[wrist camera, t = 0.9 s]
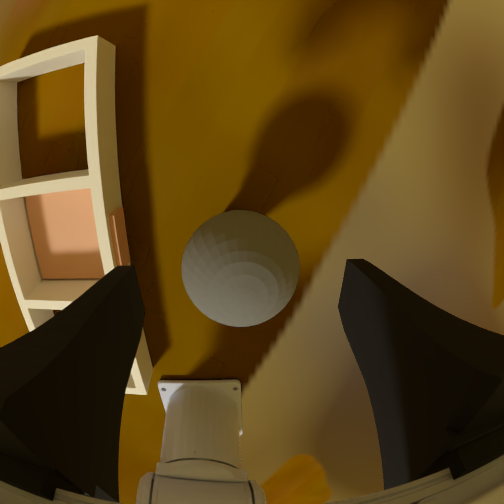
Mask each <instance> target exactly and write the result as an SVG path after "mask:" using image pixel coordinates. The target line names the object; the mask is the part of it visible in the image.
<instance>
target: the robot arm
mask: <svg viewBox="0 0 504 504" xmlns="http://www.w3.org/2000/svg"><path fill="white" fill-rule="evenodd" d="M338 308H339V313H340V316H341V320H342V324H343V328H344V331H345V333H346V336H347V339H348V341H349V343H350V346H351V348H352V350H353V353H354V356H355V358H356V360H357V363H358V365H359V368H360V370H361V372H362V375H363V378H364V380H365V383H366V386H367V389H368V393H369V397H370V401H371V405H372V408H373V413H374V418H375V423H376V428H377V432H378V438H379V445H380V452H381V458H382V467H383V479H384V490H383V491H379V492H375V493H372V494H368V495H364V496H359V497H355V498H351V499H346V500H341V501H336V502H331V503H325V504H504V335H501V334H498V333H495V332H492V331H488V330H486V329H483V328H481V327H478V326H476V325H474V324H471V323H469V322H467V321H464V320H462V319H460V318H458V317H455V316H454V315H452V314H450V313H448V312H446V311H444V310H442V309H440V308H438V307H437V306H435V305H433V304H432V303H430V302H428V301H427V300H425V299H423V298H422V297H420V296H419V295H417V294H415V293H414V292H412V291H411V290H409V289H408V288H406V287H405V286H403V285H402V284H400V283H399V282H398V281H396V280H395V279H393V278H392V277H390V276H389V275H387V274H386V273H385V272H383V271H382V270H380V269H379V268H377V267H376V266H374V265H373V264H371V263H370V262H368V261H366V260H364V259H347V261H346V267H345V272H344V278H343V283H342V289H341V294H340V299H339V304H338ZM144 316H145V311H144V307H143V302H142V298H141V294H140V290H139V285H138V281H137V276H136V272H135V267H134V265H127V266H117V267H115V268H114V269H112V270H111V271H110V272H108V273H107V274H106V275H105V276H103V277H102V278H101V279H100V280H99V281H97V282H96V283H95V284H94V285H93V286H91V287H90V288H89V289H88V290H87V291H85V292H84V293H83V294H82V295H81V296H79V297H78V298H77V299H76V300H74V301H73V302H72V303H70V304H69V305H68V306H67V307H65V308H64V309H63V310H62V311H60V312H59V313H58V314H56V315H55V316H53V317H52V318H51V319H49V320H48V321H46V322H45V323H43V324H42V325H40V326H39V327H37V328H36V329H34V330H32V331H31V332H29V333H27V334H25V335H24V336H22V337H20V338H18V339H16V340H15V341H13V342H11V343H9V344H7V345H5V346H3V347H1V348H0V504H122V503H119V487H118V454H119V437H120V425H121V417H122V409H123V402H124V396H125V392H126V387H127V384H128V380H129V377H130V373H131V370H132V366H133V363H134V359H135V356H136V353H137V349H138V346H139V342H140V339H141V334H142V329H143V322H144ZM234 387H237V388H234ZM158 388H159V391H160V395H161V398H162V402H163V405H164V408H165V411H166V418H165V425H164V433H163V441H162V449H161V457H160V463H157V466H156V474H155V473H154V472H147V473H146V474H145V475H144V476H142V477H141V479H140V481H139V485H138V491H137V498H136V504H267V502H266V496H265V493H264V490H263V488H262V487H261V486H260V485H259V484H258V483H257V482H256V481H255V480H248V475H247V470H242V463H241V448H240V435H242V434H243V430H242V406H241V383H240V381H239V380H160V381H159V382H158Z"/></svg>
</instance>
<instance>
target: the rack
mask: <svg viewBox="0 0 504 504" xmlns="http://www.w3.org/2000/svg"><path fill="white" fill-rule="evenodd" d="M115 52H116V46H115V45H113V44H111V43H110V42H108V41H106V40H105V39H103V38H102V37H100V36H98V35H96V36H92V37H88V38H84V39H80V40H76V41H73V42H69V43H65V44H62V45H59V46H55V47H52V48H49V49H46V50H43V51H40V52H37V53H34V54H31V55H28V56H26V57H23V58H20V59H18V60H15V61H13V62H10V63H8V64H5V65H3V66H1V67H0V242H1V246H2V250H3V253H4V257H5V261H6V264H7V268H8V271H9V275H10V278H11V281H12V284H13V287H14V290H15V293H16V296H17V299H18V302H19V305H20V308H21V311H22V313H23V316H24V319H25V321H26V324H27V326H28V329H29V331H30V332H31V331H32V330H34V329H36V328H37V327H39V326H40V325H42V324H43V323H45V322H46V321H48V320H49V319H51V318H52V317H53V316H54V313H53V310H63V309H64V308H65V307H67V306H68V305H69V304H70V303H72V302H73V301H74V300H76V299H77V298H78V297H79V296H81V295H82V294H83V293H84V292H85V291H87V290H88V289H89V288H90V287H91V286H93V285H94V284H95V283H96V282H97V281H99V280H100V279H86V278H102V277H103V276H105V275H106V274H107V273H108V272H110V271H111V270H112V269H114V268H115V267H117V266H127V265H131V264H130V254H129V248H128V241H127V234H126V227H125V219H124V211H123V207H122V199H121V190H120V180H119V168H118V155H117V139H116V116H115ZM82 63H85V73H84V102H85V130H86V147H87V160H88V169H85V170H78V171H70V172H63V173H57V174H50V175H44V176H38V177H32V178H27V179H22V172H21V163H20V153H19V140H18V122H17V82H20V81H23V80H26V79H29V78H32V77H35V76H38V75H41V74H44V73H48V72H51V71H55V70H58V69H62V68H66V67H69V66H73V65H77V64H82ZM152 370H153V366H152V362H151V359H150V355H149V351H148V347H147V342H146V338H145V334H144V330H143V329H142V334H141V339H140V342H139V346H138V349H137V353H136V356H135V359H134V363H133V366H132V370H131V373H130V377H129V380H128V384H127V387H126V392H125V394H141V395H147V393H148V388H149V383H150V379H151V374H152Z"/></svg>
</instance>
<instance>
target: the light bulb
mask: <svg viewBox="0 0 504 504" xmlns="http://www.w3.org/2000/svg"><path fill="white" fill-rule="evenodd" d="M299 268H300V266H299V258H298V253H297V250H296V248H295V245H294V243H293V241H292V239H291V238H290V236H289V235H288V233H287V232H286V231H285V230H284V229H283V228H282V227H281V226H280V225H279V224H278V223H277V222H275V221H274V220H272V219H271V218H269V217H267V216H265V215H262V214H260V213H257V212H253V211H247V210H232V211H228V212H224V213H221V214H219V215H216V216H214V217H212V218H210V219H209V220H208V221H206V222H205V223H203V224H202V225H201V226H200V227H199V228H198V229H197V230H196V231H195V232H194V234H193V235H192V237H191V238H190V240H189V242H188V243H187V246H186V249H185V252H184V255H183V259H182V267H181V269H182V279H183V283H184V286H185V289H186V292H187V293H188V295H189V297H190V299H191V300H192V302H193V303H194V304H195V306H196V307H197V308H198V309H199V310H200V311H201V312H202V313H204V314H205V315H206V316H208V317H209V318H211V319H213V320H215V321H217V322H219V323H222V324H225V325H228V326H235V327H248V326H253V325H257V324H260V323H262V322H265V321H267V320H269V319H270V318H272V317H274V316H275V315H276V314H278V313H279V312H280V311H281V310H282V309H283V308H284V307H285V306H286V304H287V303H288V302H289V300H290V299H291V297H292V295H293V293H294V291H295V289H296V285H297V282H298V279H299Z"/></svg>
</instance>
